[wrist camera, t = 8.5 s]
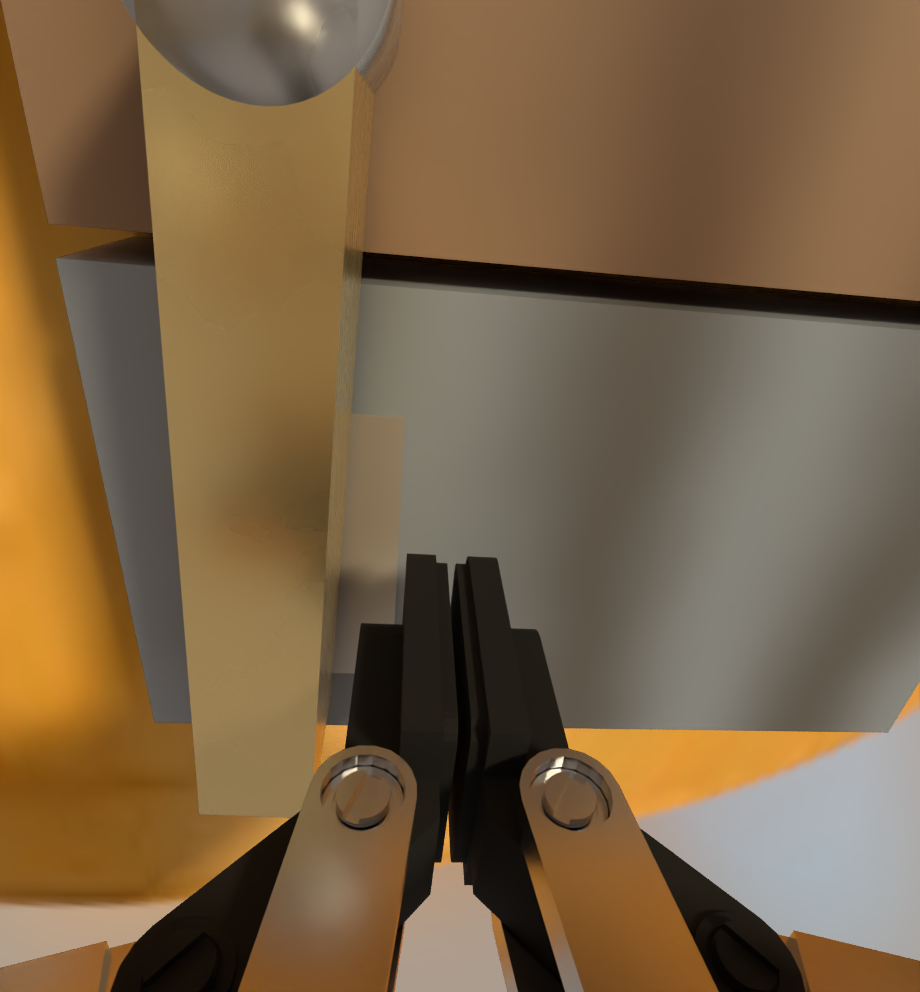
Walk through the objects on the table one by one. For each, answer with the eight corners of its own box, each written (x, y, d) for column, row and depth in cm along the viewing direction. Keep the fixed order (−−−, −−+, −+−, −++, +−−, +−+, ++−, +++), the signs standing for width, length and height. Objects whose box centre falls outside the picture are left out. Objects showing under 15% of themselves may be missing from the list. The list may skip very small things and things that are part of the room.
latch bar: (194, -155, 7) (66, -332, 5) (413, -104, 8) (411, -243, 5) (227, 688, 14) (181, 813, 11) (343, 695, 14) (326, 818, 11)
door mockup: (194, 636, 17) (153, 724, 15) (61, -231, 9) (-86, -393, 6) (823, 653, 19) (889, 734, 16) (1177, -56, 11) (1423, -125, 8)
